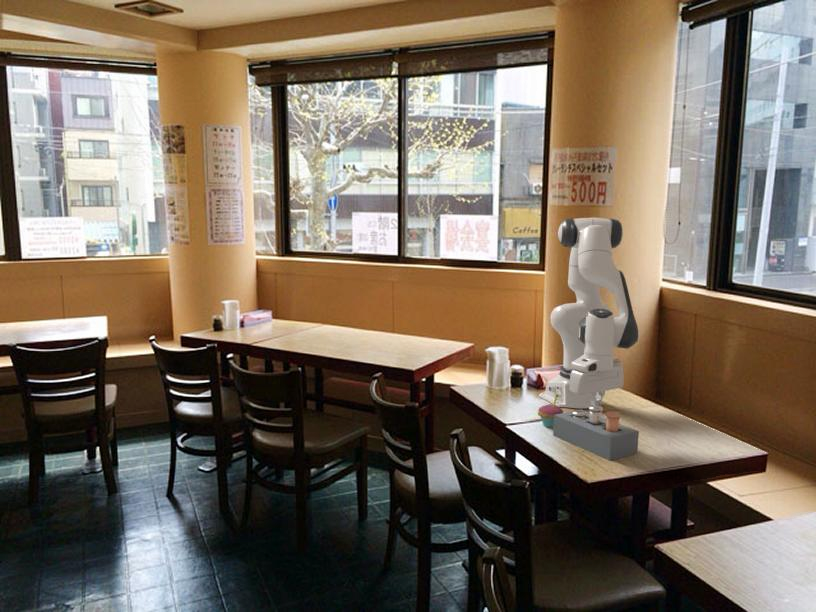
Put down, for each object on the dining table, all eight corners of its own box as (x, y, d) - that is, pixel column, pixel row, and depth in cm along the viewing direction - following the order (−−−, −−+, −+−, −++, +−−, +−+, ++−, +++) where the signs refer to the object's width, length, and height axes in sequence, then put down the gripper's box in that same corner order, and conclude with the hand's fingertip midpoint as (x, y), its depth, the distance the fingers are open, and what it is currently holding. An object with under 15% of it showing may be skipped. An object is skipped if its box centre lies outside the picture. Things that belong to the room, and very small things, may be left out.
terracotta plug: (601, 436, 197) (603, 412, 196) (611, 434, 199) (612, 410, 198) (612, 441, 193) (613, 416, 192) (621, 438, 195) (623, 414, 194)
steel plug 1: (568, 434, 210) (569, 411, 208) (577, 432, 212) (579, 409, 210) (577, 438, 206) (579, 415, 205) (587, 436, 208) (588, 413, 207)
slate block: (553, 435, 210) (554, 414, 209) (579, 429, 216) (581, 409, 215) (609, 460, 190) (610, 437, 189) (637, 453, 196) (638, 431, 195)
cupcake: (555, 420, 225) (557, 387, 223) (567, 428, 217) (569, 394, 215) (533, 422, 223) (534, 388, 221) (544, 430, 215) (545, 395, 213)
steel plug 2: (584, 430, 203) (586, 406, 202) (594, 427, 205) (595, 404, 204) (594, 434, 199) (596, 409, 198) (604, 431, 201) (605, 407, 200)
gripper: (614, 356, 207) (611, 397, 209) (567, 363, 196) (565, 406, 199) (629, 360, 201) (627, 402, 203) (582, 367, 191) (580, 412, 193)
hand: (596, 404), depth 201 cm, fingers closed
